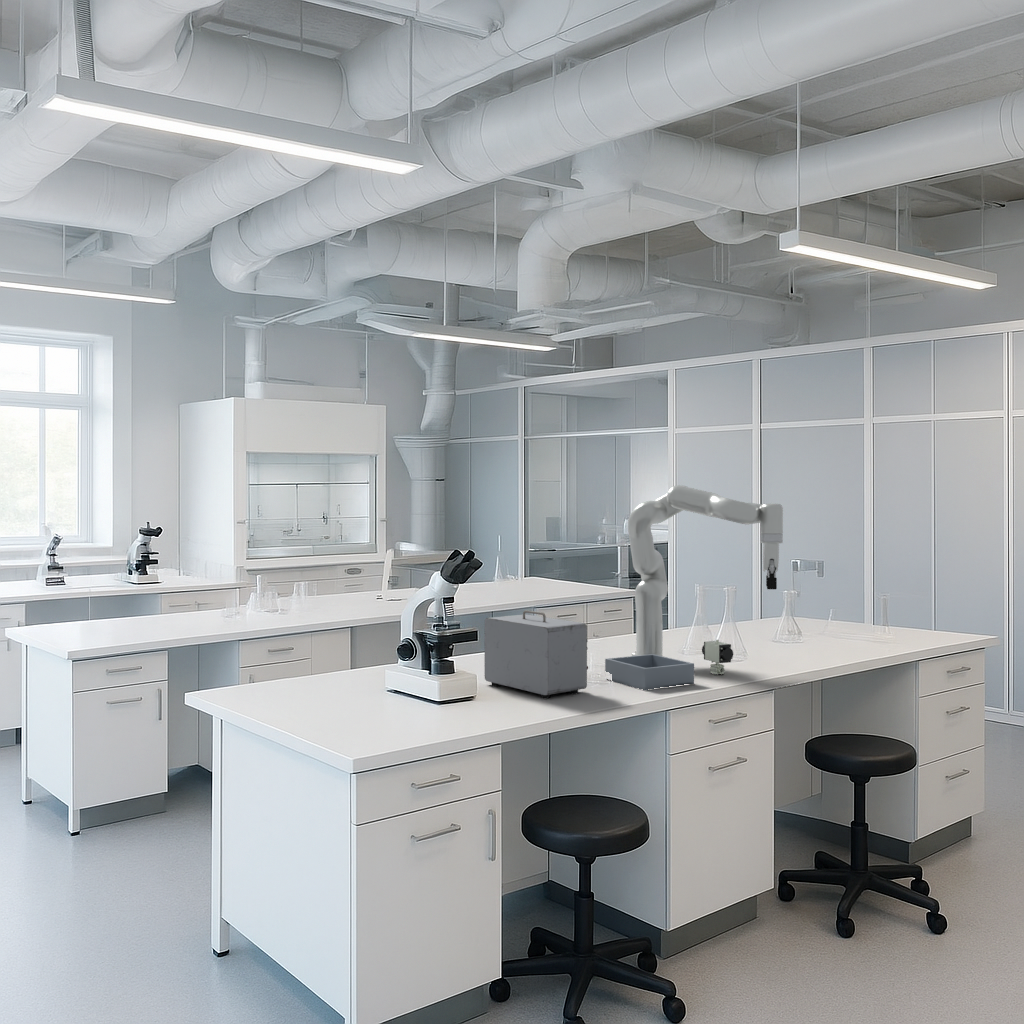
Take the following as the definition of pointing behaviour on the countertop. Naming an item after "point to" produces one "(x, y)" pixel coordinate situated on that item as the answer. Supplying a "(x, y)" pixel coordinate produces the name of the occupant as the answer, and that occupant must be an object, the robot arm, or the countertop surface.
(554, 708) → the countertop surface
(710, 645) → the pneumatic valve
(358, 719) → the countertop surface
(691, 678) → the parts bin
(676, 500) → the robot arm
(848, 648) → the countertop surface
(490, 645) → the vintage electronic device
